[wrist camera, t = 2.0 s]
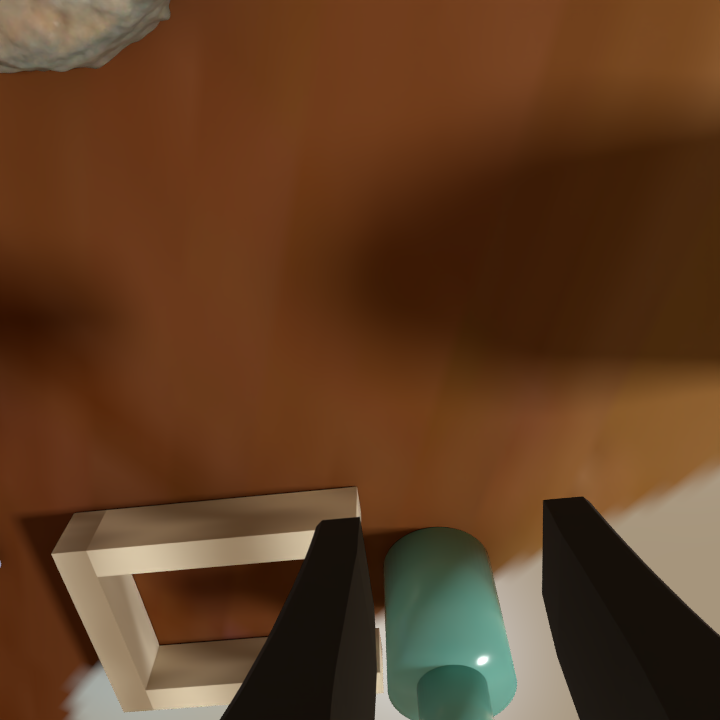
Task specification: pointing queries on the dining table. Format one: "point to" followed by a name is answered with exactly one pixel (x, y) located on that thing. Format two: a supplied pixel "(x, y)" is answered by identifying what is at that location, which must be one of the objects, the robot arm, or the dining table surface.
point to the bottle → (445, 629)
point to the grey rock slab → (72, 31)
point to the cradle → (177, 552)
